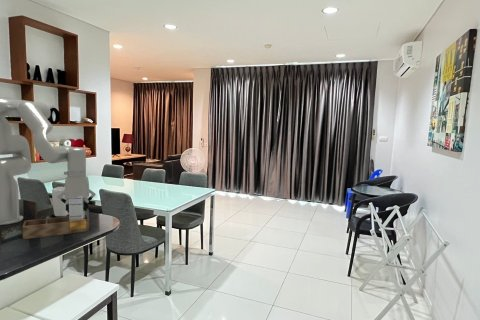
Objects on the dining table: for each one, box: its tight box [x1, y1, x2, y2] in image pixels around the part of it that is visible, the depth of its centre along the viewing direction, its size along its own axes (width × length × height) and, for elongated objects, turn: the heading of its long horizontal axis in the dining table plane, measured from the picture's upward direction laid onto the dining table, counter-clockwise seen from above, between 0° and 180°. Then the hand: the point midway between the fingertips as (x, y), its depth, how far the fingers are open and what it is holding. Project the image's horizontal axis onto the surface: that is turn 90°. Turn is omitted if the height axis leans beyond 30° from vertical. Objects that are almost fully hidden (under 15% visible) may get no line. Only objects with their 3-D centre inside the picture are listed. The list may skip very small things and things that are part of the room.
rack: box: [22, 214, 90, 240], centre depth 137 cm, size 25×9×6 cm, turn 121°
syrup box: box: [68, 196, 86, 221], centre depth 140 cm, size 6×6×14 cm
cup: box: [51, 186, 69, 218], centre depth 159 cm, size 7×7×15 cm
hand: (77, 210), depth 140 cm, fingers closed on syrup box, 6 cm apart
